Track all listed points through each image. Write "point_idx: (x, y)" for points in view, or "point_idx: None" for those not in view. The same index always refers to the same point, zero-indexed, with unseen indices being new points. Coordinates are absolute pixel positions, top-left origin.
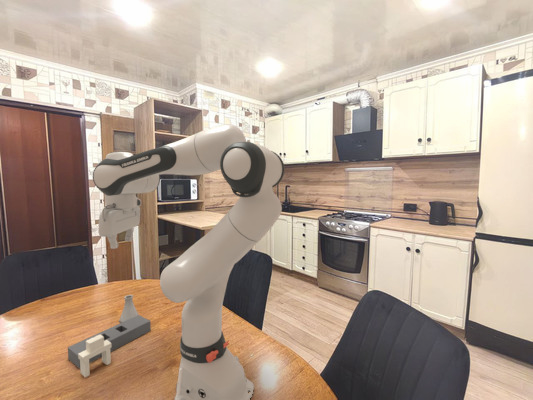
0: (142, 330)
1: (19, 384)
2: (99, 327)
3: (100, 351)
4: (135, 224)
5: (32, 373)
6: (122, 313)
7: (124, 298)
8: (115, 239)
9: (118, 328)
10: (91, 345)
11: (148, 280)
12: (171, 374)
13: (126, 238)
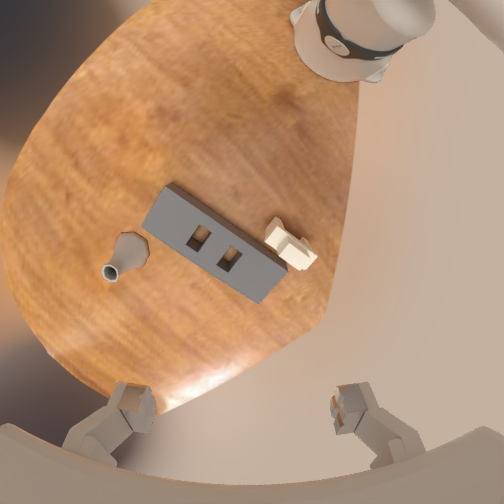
0: (185, 195)
1: (306, 319)
2: (165, 292)
3: (293, 236)
4: (47, 461)
5: (286, 318)
6: (134, 267)
7: (117, 279)
8: (401, 426)
9: (191, 247)
10: (306, 254)
11: (9, 278)
12: (315, 94)
13: (148, 415)
